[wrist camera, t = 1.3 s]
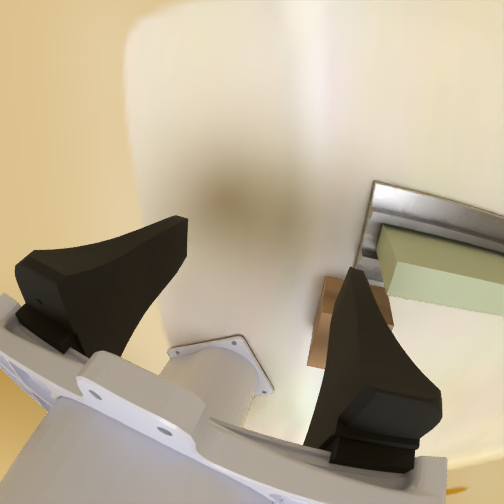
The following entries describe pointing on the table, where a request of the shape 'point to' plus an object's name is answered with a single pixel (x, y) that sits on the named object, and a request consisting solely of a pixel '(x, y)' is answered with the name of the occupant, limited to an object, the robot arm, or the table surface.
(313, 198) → the table surface
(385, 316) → the block
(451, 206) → the track
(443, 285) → the pale green long bar
